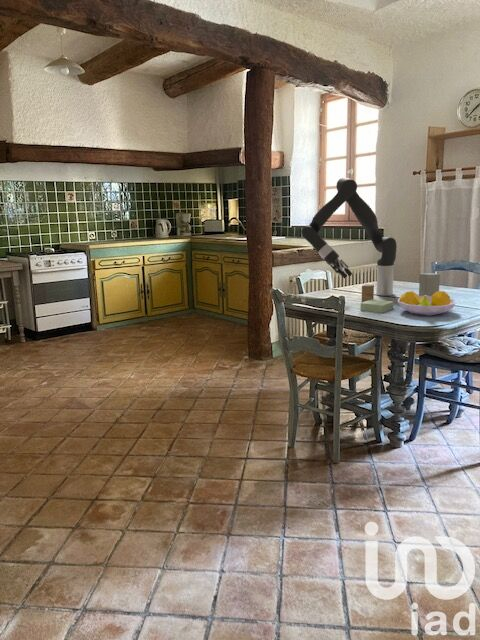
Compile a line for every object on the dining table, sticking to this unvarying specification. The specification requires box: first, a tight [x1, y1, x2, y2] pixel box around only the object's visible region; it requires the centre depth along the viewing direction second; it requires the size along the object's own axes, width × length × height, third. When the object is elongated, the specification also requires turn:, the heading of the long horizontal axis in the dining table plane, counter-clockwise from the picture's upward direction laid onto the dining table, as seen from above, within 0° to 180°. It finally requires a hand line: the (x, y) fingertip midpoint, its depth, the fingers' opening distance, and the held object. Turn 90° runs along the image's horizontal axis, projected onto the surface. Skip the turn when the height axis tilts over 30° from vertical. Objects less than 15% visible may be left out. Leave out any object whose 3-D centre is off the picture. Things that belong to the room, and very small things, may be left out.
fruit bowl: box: [397, 290, 456, 317], centre depth 247 cm, size 28×27×11 cm
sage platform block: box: [360, 298, 394, 313], centre depth 260 cm, size 12×12×4 cm
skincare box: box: [418, 272, 441, 296], centre depth 269 cm, size 8×7×16 cm
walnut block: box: [361, 284, 375, 303], centre depth 273 cm, size 5×5×10 cm
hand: (348, 276), depth 276 cm, fingers open, 8 cm apart
